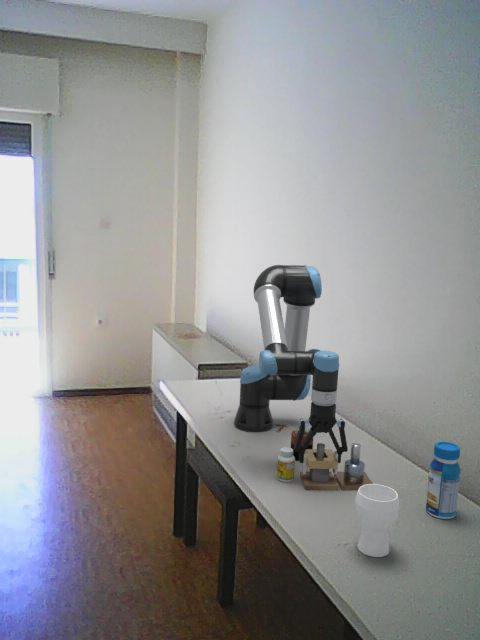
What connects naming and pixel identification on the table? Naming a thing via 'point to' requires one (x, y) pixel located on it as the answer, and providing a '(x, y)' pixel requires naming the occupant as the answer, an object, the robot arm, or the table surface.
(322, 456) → the rod stand
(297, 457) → the battery
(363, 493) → the cup
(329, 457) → the brass plate
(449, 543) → the table surface
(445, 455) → the beverage bottle
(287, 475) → the supplement bottle
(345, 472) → the peg stand
